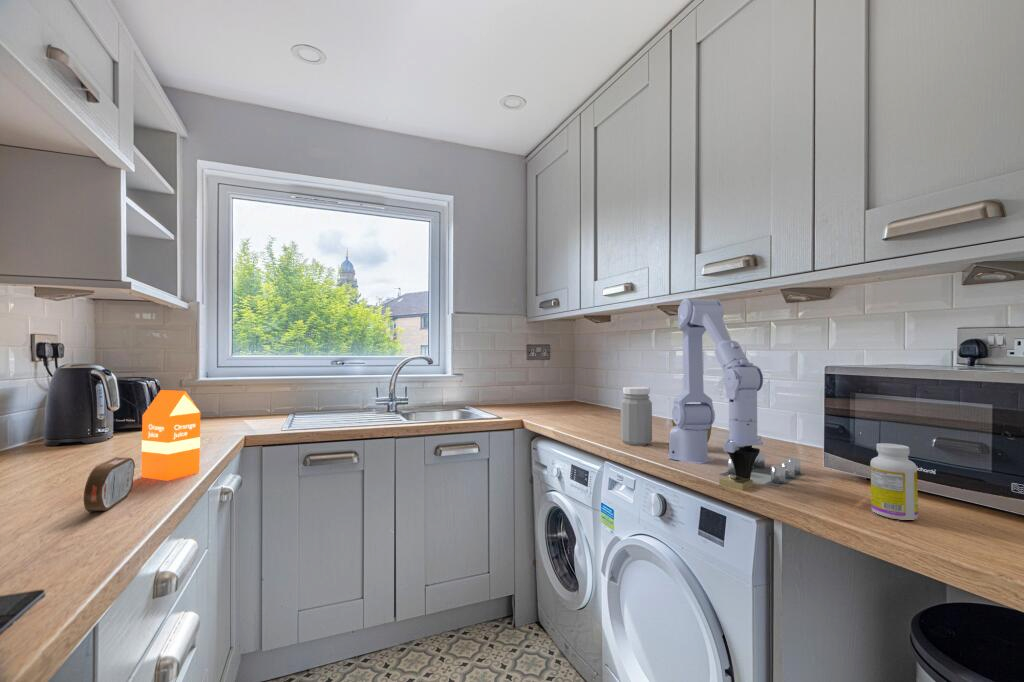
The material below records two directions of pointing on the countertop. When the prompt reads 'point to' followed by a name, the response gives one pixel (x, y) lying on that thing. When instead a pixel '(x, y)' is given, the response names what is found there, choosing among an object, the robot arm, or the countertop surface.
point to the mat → (764, 476)
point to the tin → (108, 484)
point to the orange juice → (170, 437)
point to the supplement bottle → (894, 482)
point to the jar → (636, 416)
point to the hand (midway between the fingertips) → (743, 480)
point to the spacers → (774, 468)
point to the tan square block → (736, 482)
